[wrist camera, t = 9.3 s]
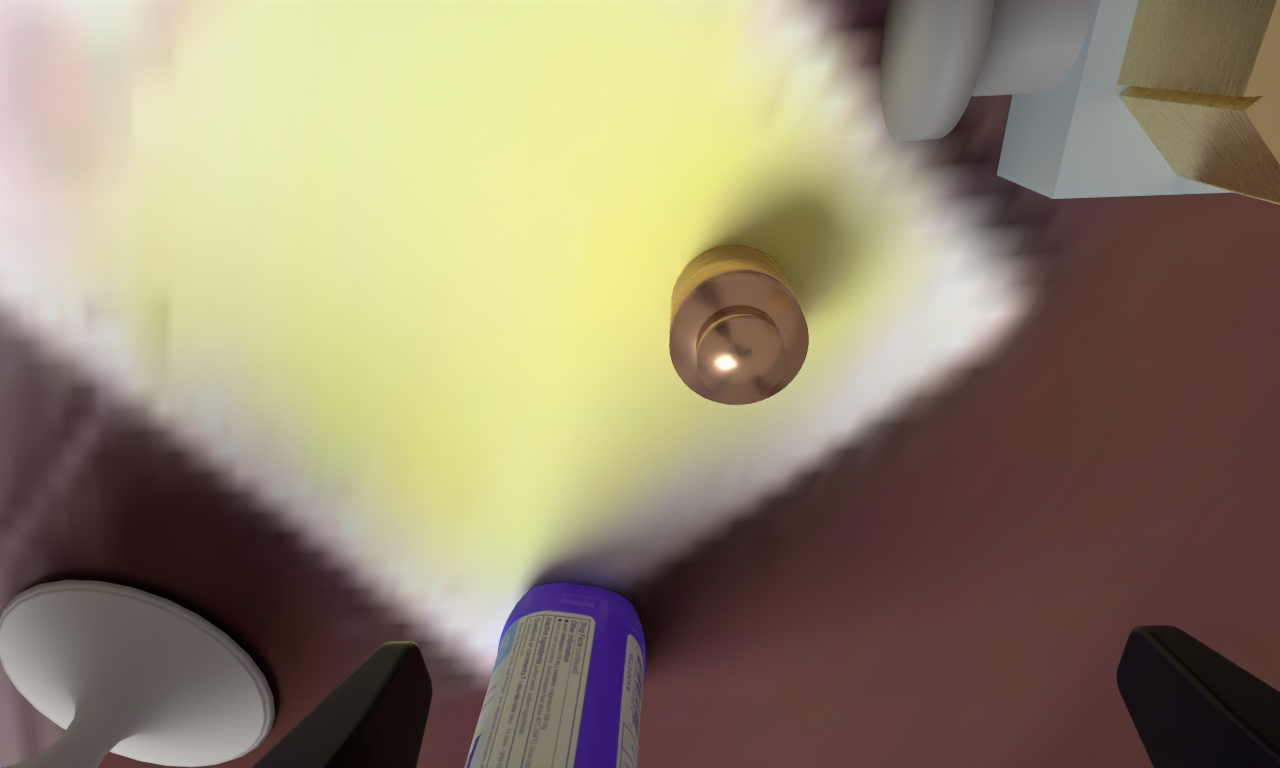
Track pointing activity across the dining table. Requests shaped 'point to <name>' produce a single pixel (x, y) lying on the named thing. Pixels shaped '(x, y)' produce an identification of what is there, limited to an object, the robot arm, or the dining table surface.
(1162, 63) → the nut
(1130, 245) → the dining table surface
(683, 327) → the cap
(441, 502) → the dining table surface
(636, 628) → the bottle
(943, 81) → the valve
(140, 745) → the chalice
